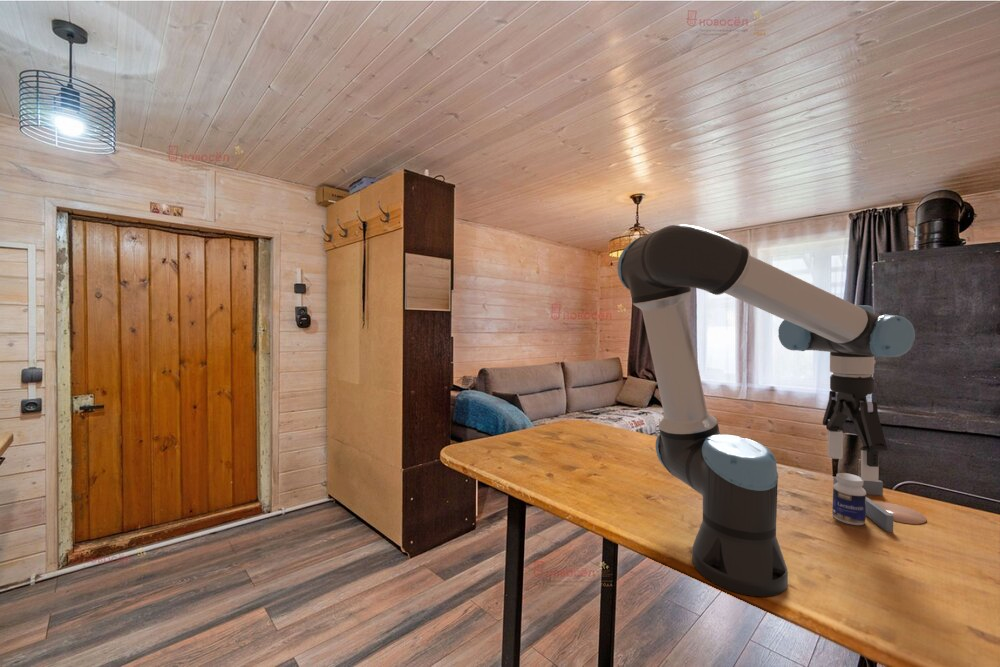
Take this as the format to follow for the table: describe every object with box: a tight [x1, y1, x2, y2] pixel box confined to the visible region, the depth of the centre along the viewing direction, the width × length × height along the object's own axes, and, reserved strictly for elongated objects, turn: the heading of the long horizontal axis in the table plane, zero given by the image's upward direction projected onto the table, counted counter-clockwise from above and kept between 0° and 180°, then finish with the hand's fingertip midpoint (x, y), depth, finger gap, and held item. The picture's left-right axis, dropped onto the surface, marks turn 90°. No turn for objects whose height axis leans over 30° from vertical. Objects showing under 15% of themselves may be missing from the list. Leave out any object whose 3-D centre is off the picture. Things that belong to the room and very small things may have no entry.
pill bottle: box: [831, 472, 867, 526], centre depth 93 cm, size 6×6×10 cm
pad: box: [874, 501, 927, 525], centre depth 96 cm, size 10×10×1 cm
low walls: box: [832, 476, 894, 533], centre depth 97 cm, size 22×10×4 cm, turn 165°
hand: (851, 468), depth 93 cm, fingers open, 13 cm apart
